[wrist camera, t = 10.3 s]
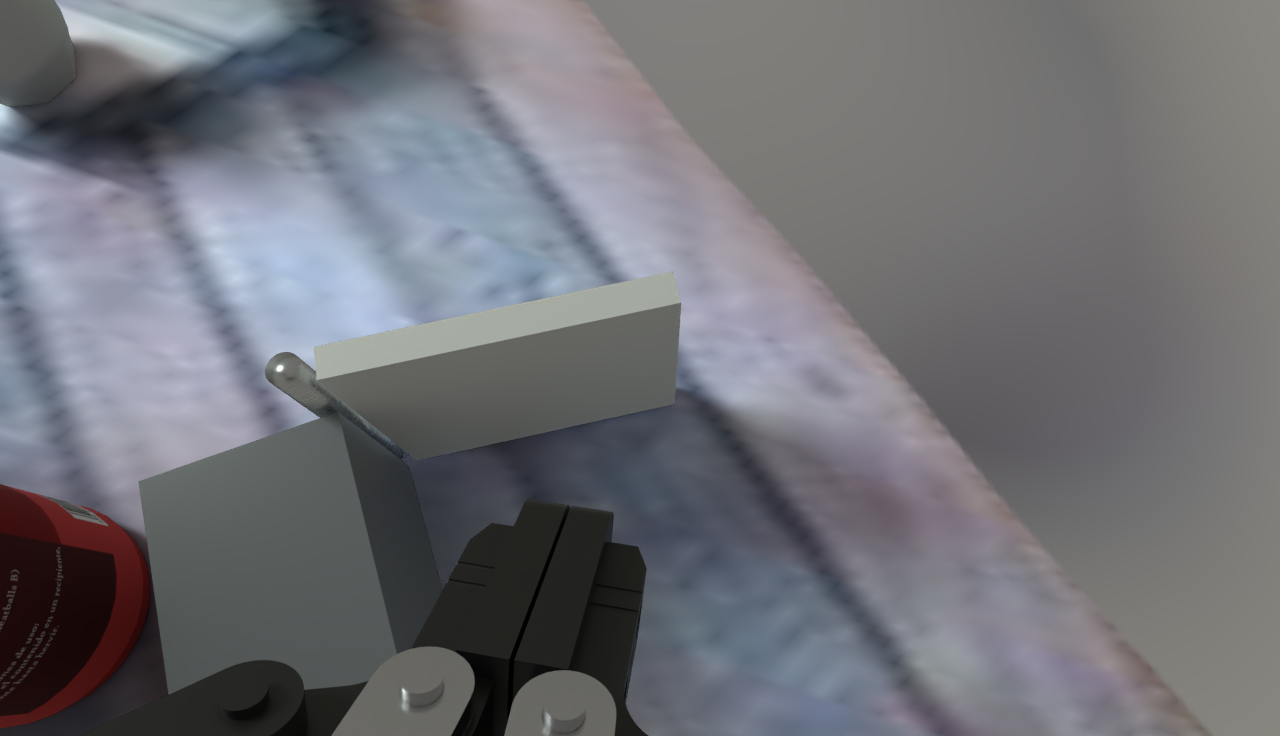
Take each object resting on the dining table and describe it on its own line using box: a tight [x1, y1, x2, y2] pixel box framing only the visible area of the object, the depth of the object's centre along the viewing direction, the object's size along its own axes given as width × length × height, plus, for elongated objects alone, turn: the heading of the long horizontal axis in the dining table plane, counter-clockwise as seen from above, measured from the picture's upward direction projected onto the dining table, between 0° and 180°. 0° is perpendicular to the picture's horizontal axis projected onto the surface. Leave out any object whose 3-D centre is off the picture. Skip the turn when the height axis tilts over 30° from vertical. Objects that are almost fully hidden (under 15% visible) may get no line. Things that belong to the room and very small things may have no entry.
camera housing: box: [139, 352, 443, 695], centre depth 23 cm, size 12×6×9 cm, turn 20°
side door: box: [314, 272, 681, 461], centre depth 26 cm, size 10×2×9 cm, turn 103°
